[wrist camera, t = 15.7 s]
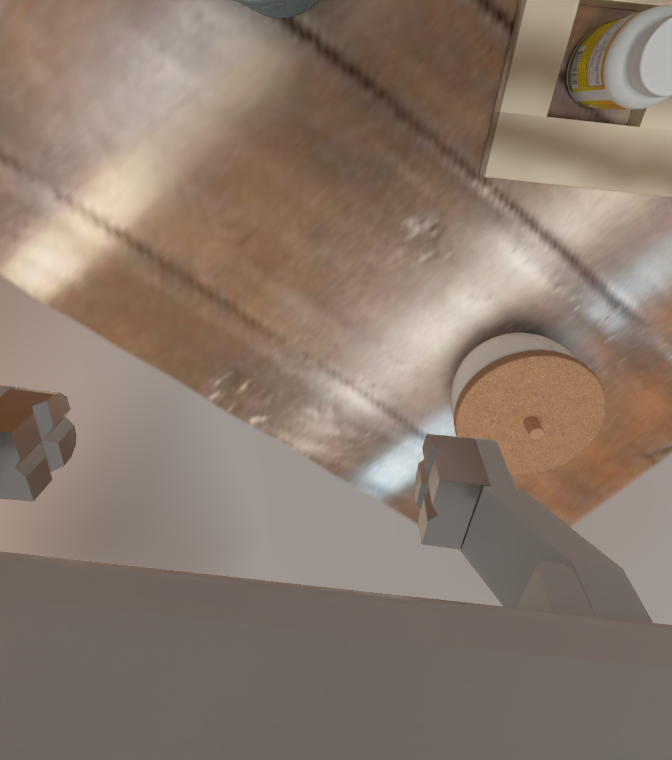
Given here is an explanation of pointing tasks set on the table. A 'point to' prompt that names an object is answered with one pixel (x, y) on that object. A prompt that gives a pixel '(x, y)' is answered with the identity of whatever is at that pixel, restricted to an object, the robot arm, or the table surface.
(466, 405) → the lidded bowl
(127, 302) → the table surface
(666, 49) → the supplement bottle
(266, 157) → the table surface
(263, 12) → the blue-grey cup
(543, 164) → the pin board
